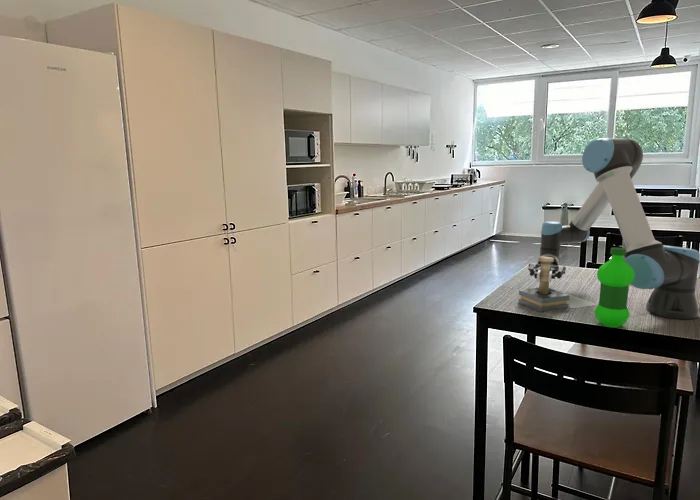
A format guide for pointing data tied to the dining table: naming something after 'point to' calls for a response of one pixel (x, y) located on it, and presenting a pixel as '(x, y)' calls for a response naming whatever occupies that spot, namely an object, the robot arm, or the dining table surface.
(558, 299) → the square socket block
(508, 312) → the dining table surface
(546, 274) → the pin
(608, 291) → the plastic bottle
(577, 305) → the mat
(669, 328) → the dining table surface
